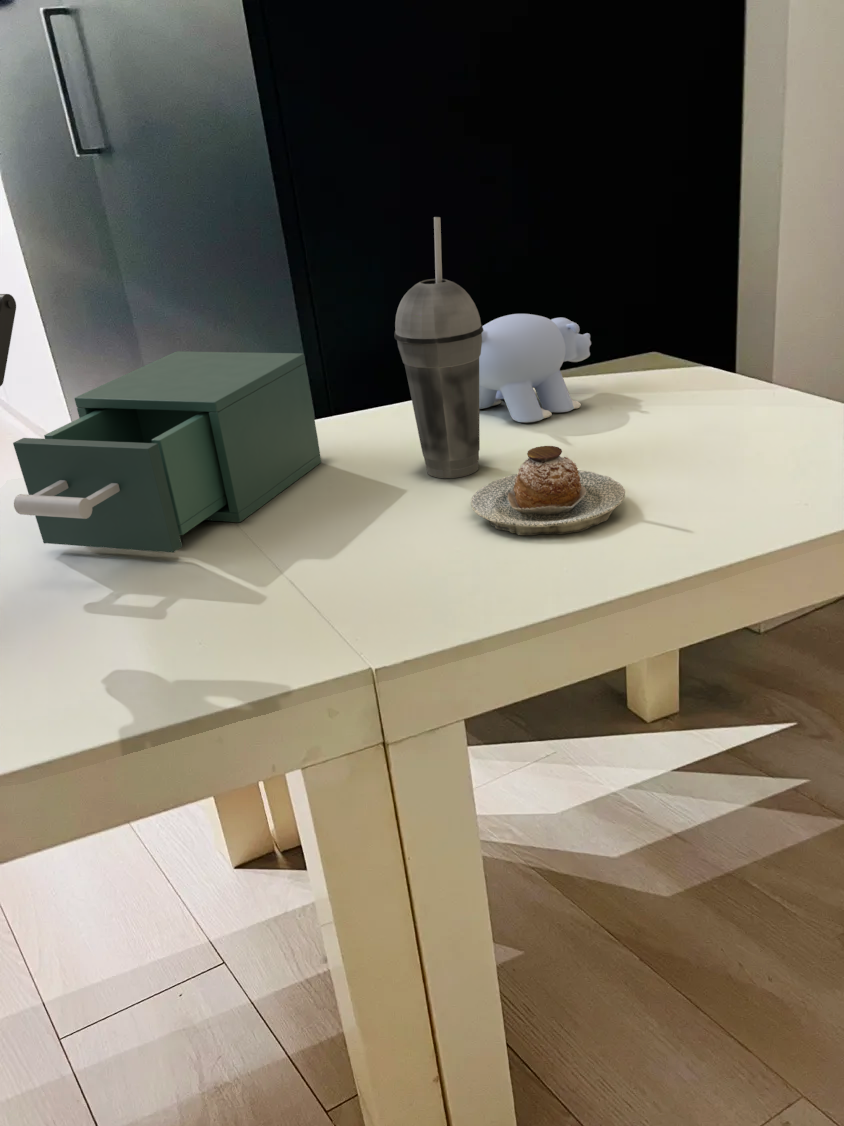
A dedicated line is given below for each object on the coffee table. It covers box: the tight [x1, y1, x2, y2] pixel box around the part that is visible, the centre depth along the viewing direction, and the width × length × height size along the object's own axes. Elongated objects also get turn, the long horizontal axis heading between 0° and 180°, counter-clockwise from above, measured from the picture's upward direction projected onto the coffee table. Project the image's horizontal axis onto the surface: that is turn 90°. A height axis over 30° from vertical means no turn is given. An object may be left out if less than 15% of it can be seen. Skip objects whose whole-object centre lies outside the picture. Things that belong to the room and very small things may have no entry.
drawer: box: [12, 408, 228, 553], centre depth 85 cm, size 18×11×8 cm, turn 163°
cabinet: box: [73, 351, 322, 523], centre depth 94 cm, size 15×13×10 cm
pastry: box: [470, 445, 626, 536], centre depth 87 cm, size 12×12×5 cm
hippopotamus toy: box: [479, 313, 592, 423], centre depth 111 cm, size 11×15×10 cm
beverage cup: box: [393, 216, 483, 479], centre depth 92 cm, size 7×7×20 cm
